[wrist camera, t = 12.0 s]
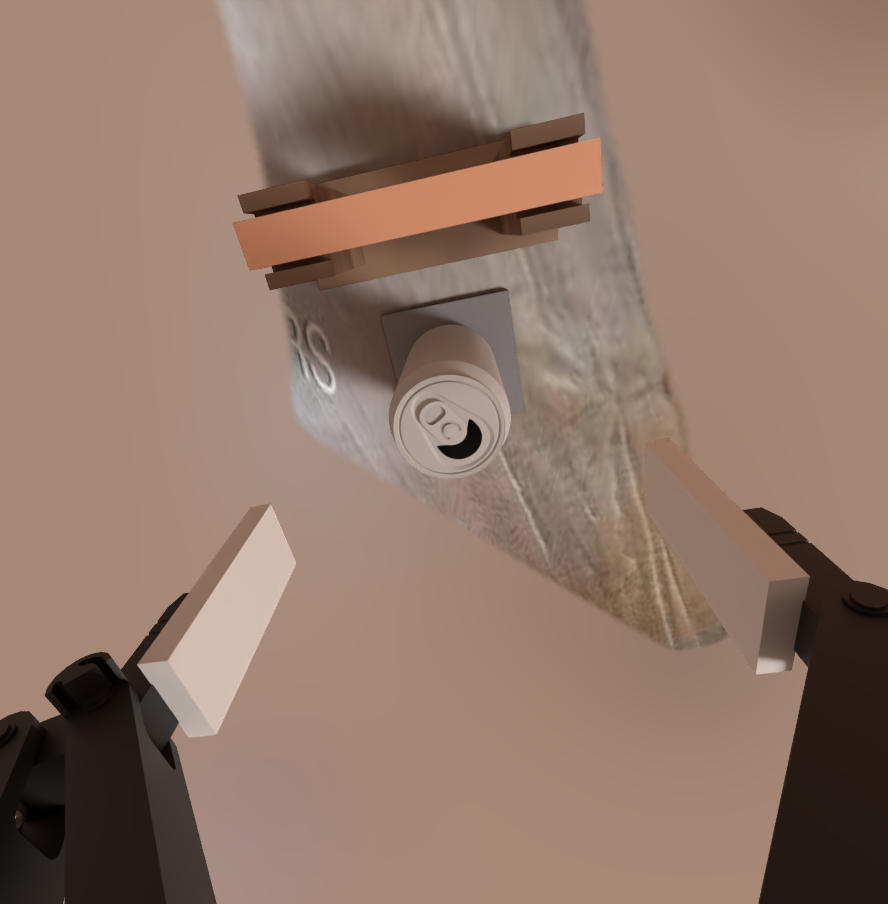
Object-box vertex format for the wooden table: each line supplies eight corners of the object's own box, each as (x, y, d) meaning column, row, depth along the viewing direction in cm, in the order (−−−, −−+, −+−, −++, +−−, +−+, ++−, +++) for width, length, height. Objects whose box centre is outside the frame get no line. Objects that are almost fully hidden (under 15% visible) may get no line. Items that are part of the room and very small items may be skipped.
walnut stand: (295, 191, 29) (217, 172, 20) (545, 132, 28) (595, 79, 18) (323, 288, 32) (267, 313, 22) (555, 239, 30) (602, 243, 21)
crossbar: (246, 223, 22) (232, 223, 20) (589, 143, 20) (599, 137, 19) (261, 268, 22) (249, 270, 21) (592, 195, 21) (602, 192, 19)
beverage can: (448, 423, 36) (446, 508, 25) (389, 363, 34) (358, 427, 23) (512, 369, 34) (540, 434, 23) (453, 302, 32) (453, 339, 21)
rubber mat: (381, 315, 33) (380, 316, 32) (507, 289, 32) (508, 290, 31) (410, 429, 36) (409, 432, 36) (523, 409, 35) (524, 412, 35)
